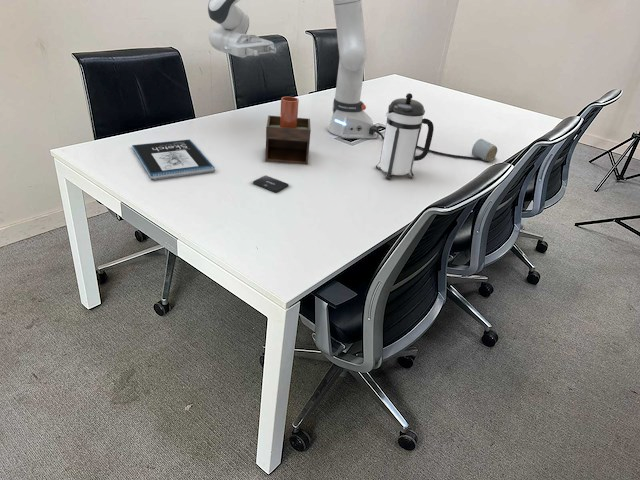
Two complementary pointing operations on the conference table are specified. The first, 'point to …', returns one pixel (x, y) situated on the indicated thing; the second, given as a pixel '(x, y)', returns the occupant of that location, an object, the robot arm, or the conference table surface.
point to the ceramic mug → (484, 150)
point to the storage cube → (287, 141)
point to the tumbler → (289, 112)
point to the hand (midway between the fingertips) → (266, 52)
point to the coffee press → (403, 136)
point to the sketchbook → (172, 159)
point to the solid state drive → (270, 183)
